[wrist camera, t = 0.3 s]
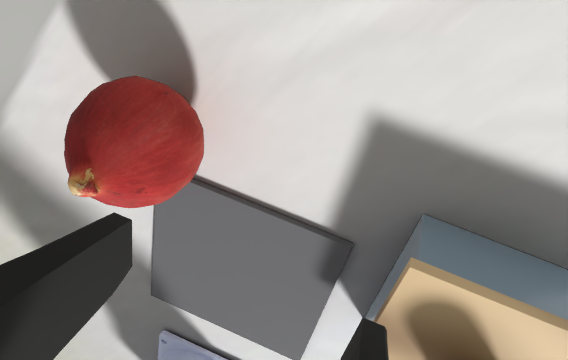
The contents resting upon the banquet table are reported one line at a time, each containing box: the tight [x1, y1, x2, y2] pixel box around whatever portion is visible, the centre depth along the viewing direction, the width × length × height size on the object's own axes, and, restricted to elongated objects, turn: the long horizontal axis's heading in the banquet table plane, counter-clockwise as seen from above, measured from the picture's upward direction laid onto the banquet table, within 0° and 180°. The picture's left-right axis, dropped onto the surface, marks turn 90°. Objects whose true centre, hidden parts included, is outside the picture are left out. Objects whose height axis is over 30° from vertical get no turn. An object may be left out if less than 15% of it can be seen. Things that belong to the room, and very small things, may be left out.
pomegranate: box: [64, 76, 204, 208], centre depth 19 cm, size 6×6×8 cm
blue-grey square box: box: [365, 214, 568, 321], centre depth 21 cm, size 9×9×4 cm
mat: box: [151, 179, 353, 360], centre depth 27 cm, size 12×12×1 cm
